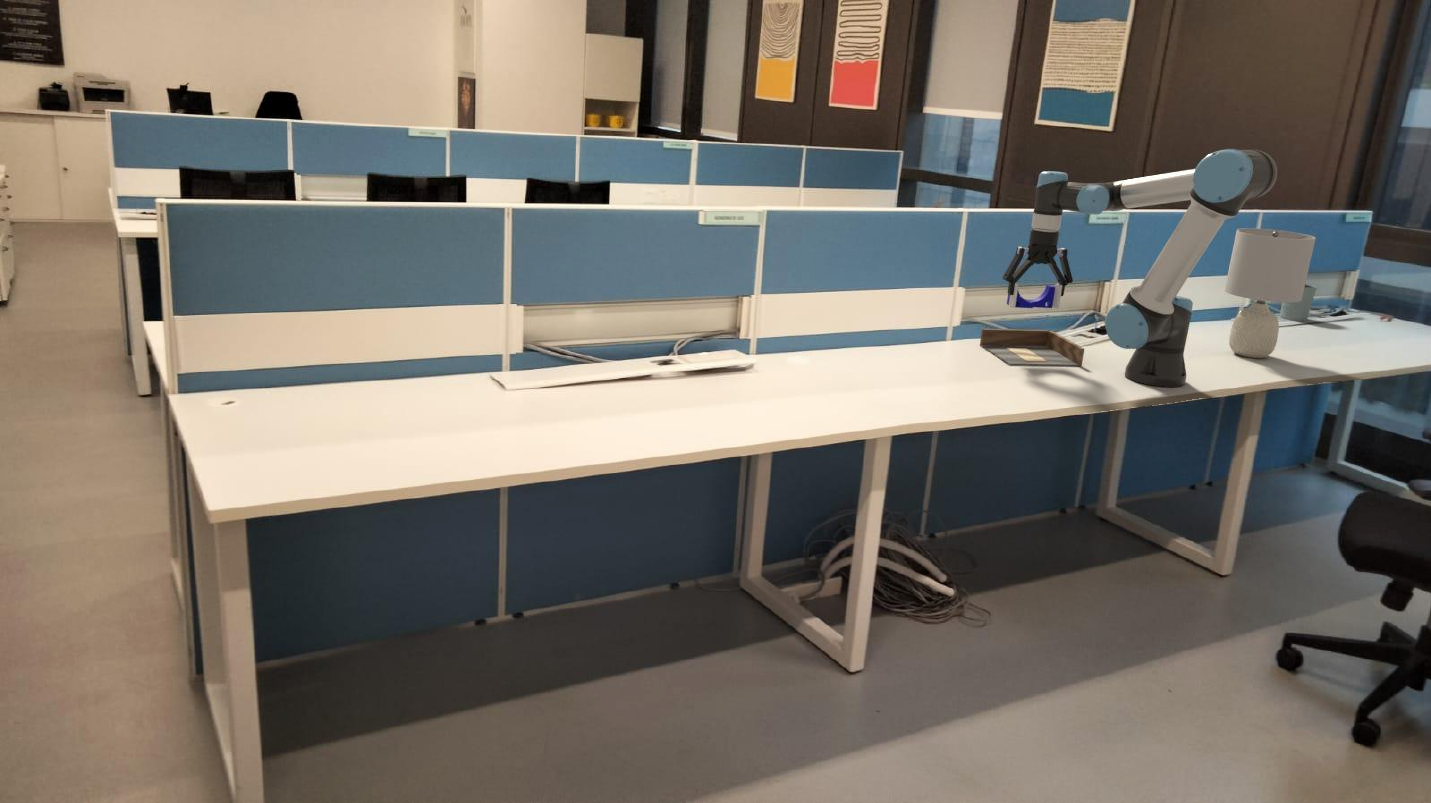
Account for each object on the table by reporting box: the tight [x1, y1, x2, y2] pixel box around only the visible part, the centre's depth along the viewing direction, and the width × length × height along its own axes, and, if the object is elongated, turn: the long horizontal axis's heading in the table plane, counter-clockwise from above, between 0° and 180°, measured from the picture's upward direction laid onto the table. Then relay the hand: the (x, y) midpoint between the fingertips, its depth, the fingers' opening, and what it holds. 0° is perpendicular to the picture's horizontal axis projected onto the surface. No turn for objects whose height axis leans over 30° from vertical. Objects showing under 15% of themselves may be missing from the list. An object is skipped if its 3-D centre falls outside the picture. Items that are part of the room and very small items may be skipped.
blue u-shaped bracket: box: [1006, 284, 1055, 309], centre depth 292 cm, size 12×4×6 cm, turn 92°
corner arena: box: [979, 328, 1085, 367], centre depth 296 cm, size 21×21×5 cm
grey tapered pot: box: [1279, 283, 1318, 322], centre depth 365 cm, size 10×10×12 cm
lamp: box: [1224, 227, 1317, 359], centre depth 305 cm, size 20×20×37 cm
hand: (1033, 307), depth 290 cm, fingers closed on blue u-shaped bracket, 12 cm apart
